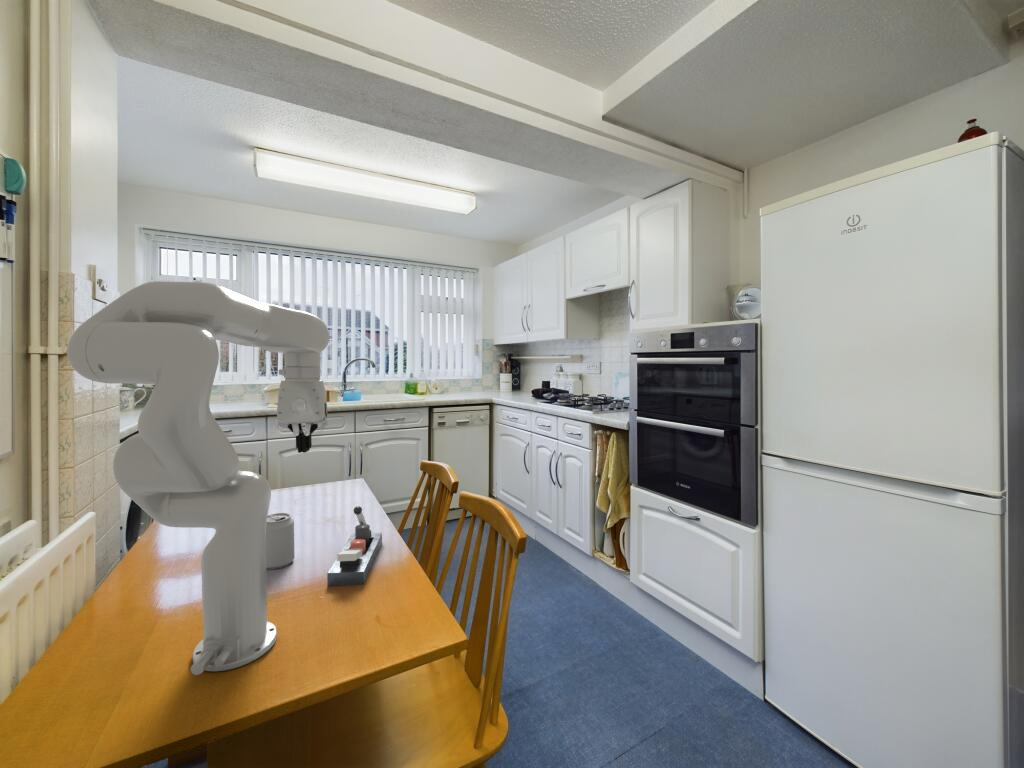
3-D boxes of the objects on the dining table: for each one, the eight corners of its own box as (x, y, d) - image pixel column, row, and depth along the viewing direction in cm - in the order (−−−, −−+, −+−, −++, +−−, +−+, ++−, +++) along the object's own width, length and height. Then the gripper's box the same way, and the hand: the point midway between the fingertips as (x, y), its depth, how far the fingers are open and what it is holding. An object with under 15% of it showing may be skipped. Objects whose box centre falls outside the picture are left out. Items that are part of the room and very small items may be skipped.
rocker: (355, 560, 99) (355, 553, 99) (336, 561, 98) (337, 553, 99) (362, 555, 106) (362, 548, 106) (345, 556, 105) (345, 548, 105)
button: (363, 562, 108) (363, 544, 108) (348, 562, 108) (348, 545, 108) (366, 555, 112) (366, 538, 112) (352, 556, 111) (352, 539, 111)
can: (280, 572, 104) (279, 523, 103) (253, 568, 105) (252, 520, 104) (301, 558, 111) (300, 512, 110) (275, 555, 113) (274, 509, 112)
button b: (368, 546, 113) (368, 529, 113) (353, 546, 113) (353, 529, 112) (371, 540, 117) (370, 523, 116) (357, 540, 116) (357, 524, 116)
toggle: (368, 530, 117) (359, 506, 117) (360, 533, 117) (351, 509, 117) (370, 527, 120) (361, 503, 119) (362, 530, 119) (353, 506, 119)
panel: (364, 584, 99) (363, 567, 99) (327, 585, 98) (327, 568, 98) (382, 543, 121) (382, 529, 120) (352, 544, 120) (352, 530, 120)
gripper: (261, 374, 98) (263, 455, 99) (331, 375, 99) (331, 454, 100) (276, 373, 105) (277, 448, 106) (340, 374, 107) (340, 447, 108)
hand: (303, 451), depth 103 cm, fingers closed
